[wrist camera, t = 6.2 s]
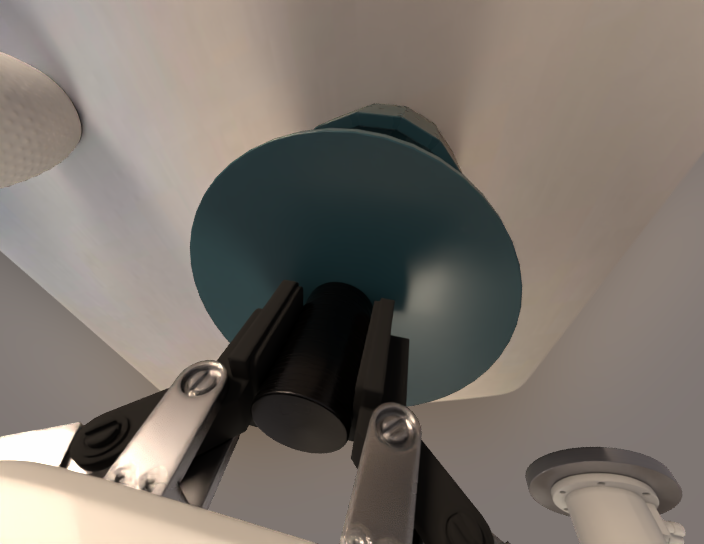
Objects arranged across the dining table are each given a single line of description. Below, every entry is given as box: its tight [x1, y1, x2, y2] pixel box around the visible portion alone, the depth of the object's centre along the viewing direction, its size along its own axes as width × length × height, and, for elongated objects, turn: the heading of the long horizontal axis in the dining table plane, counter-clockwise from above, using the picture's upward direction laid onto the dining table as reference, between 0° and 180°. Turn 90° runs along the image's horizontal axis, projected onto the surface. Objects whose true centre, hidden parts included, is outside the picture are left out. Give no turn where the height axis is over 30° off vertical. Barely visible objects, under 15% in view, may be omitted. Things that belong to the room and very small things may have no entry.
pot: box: [314, 103, 462, 173], centre depth 23 cm, size 12×12×8 cm
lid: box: [190, 128, 522, 453], centre depth 10 cm, size 13×13×6 cm
